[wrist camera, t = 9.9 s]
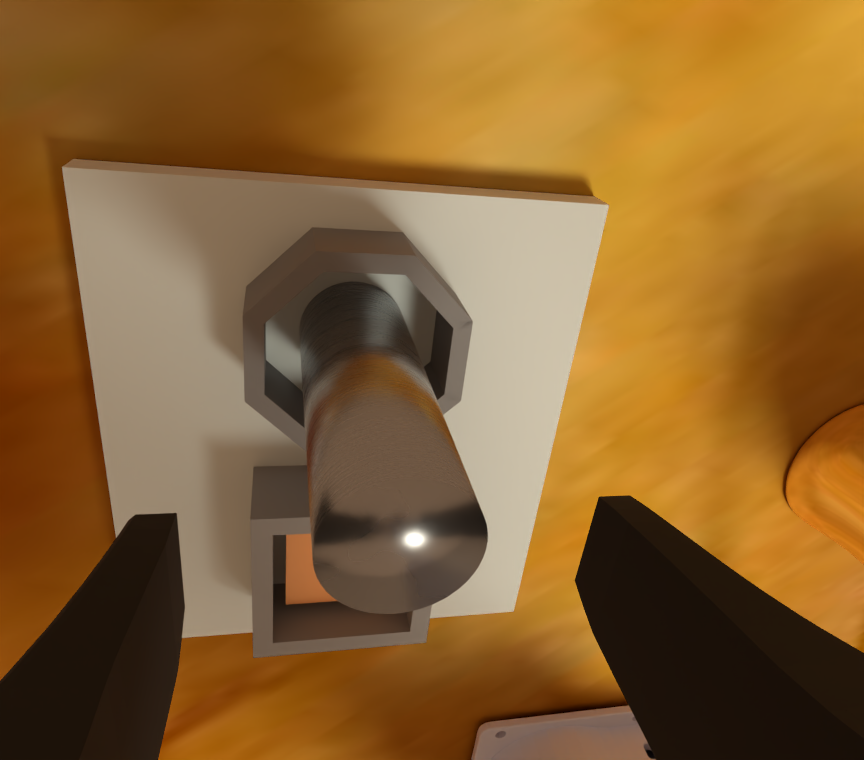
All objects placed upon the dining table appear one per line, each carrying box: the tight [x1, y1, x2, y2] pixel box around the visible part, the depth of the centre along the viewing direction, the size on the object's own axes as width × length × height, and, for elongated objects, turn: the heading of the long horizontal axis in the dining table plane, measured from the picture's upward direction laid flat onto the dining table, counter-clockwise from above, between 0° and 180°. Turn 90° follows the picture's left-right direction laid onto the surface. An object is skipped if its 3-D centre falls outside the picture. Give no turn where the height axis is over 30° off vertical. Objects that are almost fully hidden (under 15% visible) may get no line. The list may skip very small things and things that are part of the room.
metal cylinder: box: [299, 281, 488, 614], centre depth 15 cm, size 3×3×9 cm
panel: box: [62, 159, 609, 658], centre depth 20 cm, size 14×16×4 cm
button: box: [285, 534, 337, 605], centre depth 22 cm, size 4×4×1 cm
